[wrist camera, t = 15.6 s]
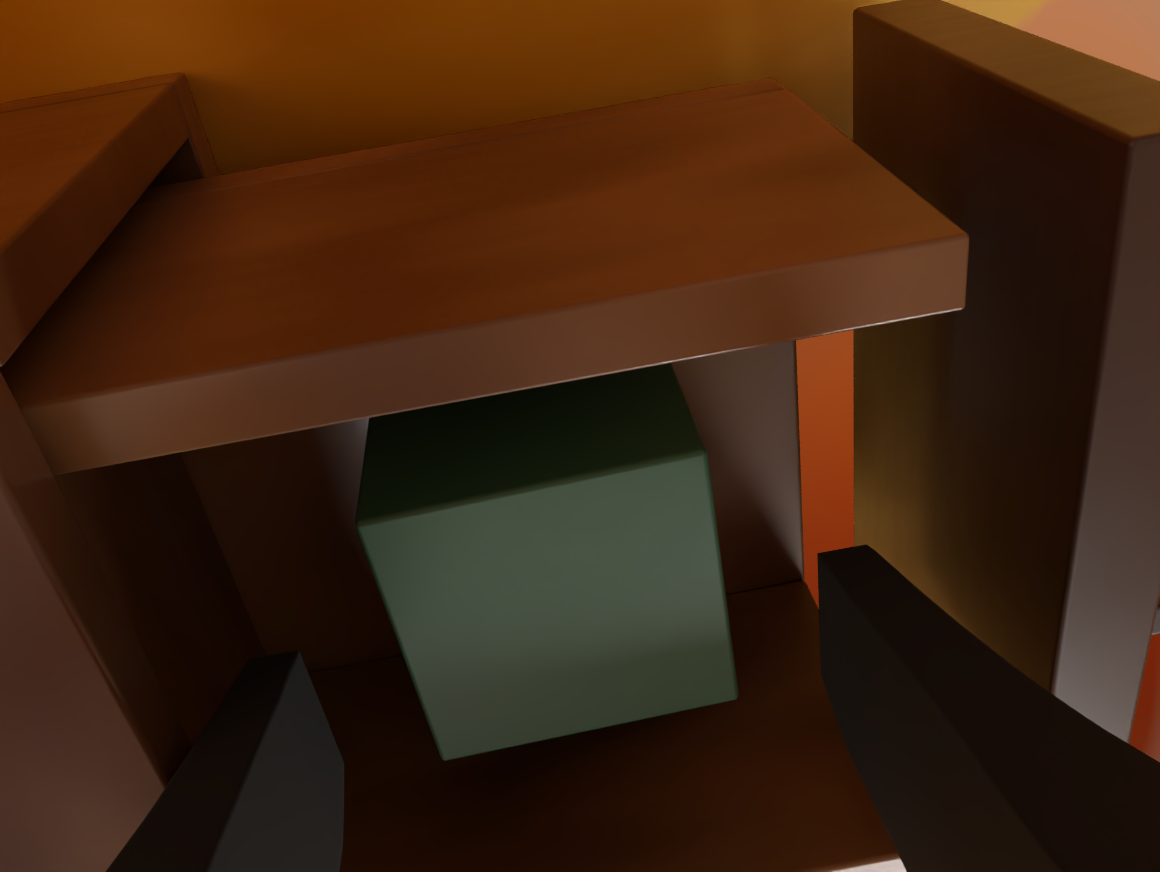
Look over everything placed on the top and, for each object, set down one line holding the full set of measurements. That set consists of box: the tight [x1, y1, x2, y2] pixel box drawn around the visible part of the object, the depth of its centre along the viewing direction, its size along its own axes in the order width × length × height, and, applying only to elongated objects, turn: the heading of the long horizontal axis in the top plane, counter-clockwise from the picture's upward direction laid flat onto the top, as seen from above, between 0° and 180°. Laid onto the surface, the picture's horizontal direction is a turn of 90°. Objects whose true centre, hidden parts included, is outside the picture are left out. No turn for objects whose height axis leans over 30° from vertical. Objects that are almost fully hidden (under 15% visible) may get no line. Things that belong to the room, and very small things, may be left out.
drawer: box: [0, 0, 1160, 872], centre depth 15 cm, size 18×11×7 cm, turn 98°
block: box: [355, 363, 739, 761], centre depth 15 cm, size 4×4×4 cm
